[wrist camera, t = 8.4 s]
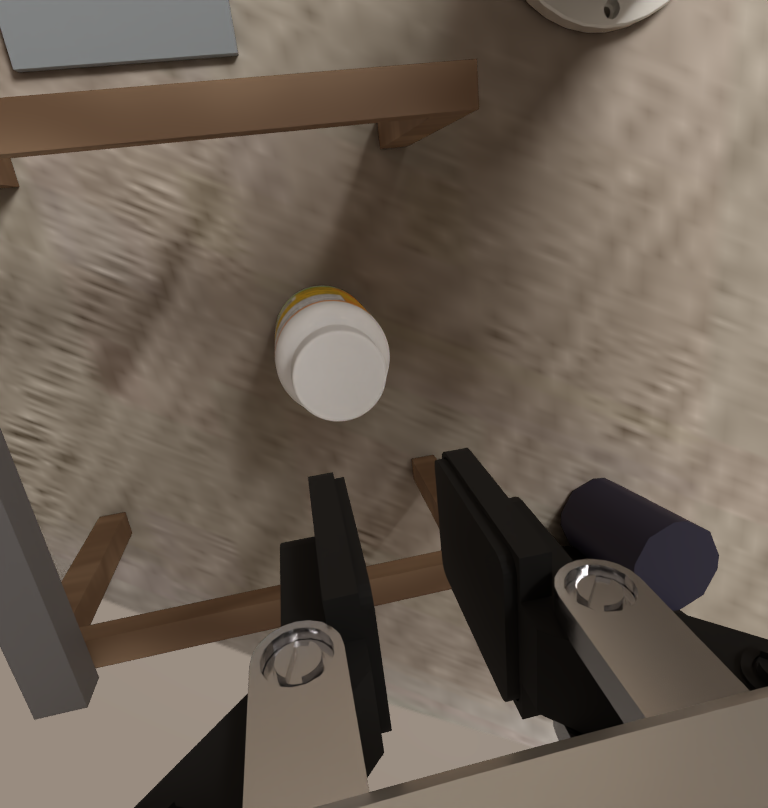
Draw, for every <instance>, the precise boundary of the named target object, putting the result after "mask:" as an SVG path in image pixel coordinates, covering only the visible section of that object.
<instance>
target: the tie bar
mask: <svg viewBox="0 0 768 808" xmlns="http://www.w3.org/2000/svg"><path fill="white" fill-rule="evenodd" d="M0 647H1V649H2V651H3V654H4V656H5V658H6V660H7V662H8V664H9V666H10V669H11V671H12V673H13V675H14V677H15V679H16V681H17V683H18V686H19V688H20V690H21V692H22V694H23V696H24V698H25V701H26V702H27V705H28V707H29V709H30V711H31V713H32V715H33V718H34V719H39V718H43V717H48V716H52V715H56V714H60V713H65V712H69V711H73V710H78V709H82V708H87V707H88V704H89V702H90V699H91V697H92V694H93V692H94V689H95V686H96V684H97V681H98V679H99V677H98V674H97V671H96V669H95V666H94V664H93V661H92V659H91V656H90V653H89V651H88V648H87V646H86V643H85V641H84V638H83V636H82V633H81V631H80V628H79V626H78V623H77V621H76V618H75V616H74V613H73V611H72V608H71V606H70V603H69V600H68V598H67V595H66V593H65V590H64V588H63V585H62V583H61V580H60V578H59V575H58V573H57V570H56V568H55V565H54V563H53V560H52V558H51V555H50V552H49V550H48V547H47V545H46V542H45V540H44V537H43V535H42V532H41V530H40V527H39V525H38V522H37V520H36V517H35V515H34V512H33V510H32V507H31V504H30V502H29V499H28V497H27V494H26V492H25V489H24V487H23V484H22V482H21V479H20V477H19V474H18V472H17V469H16V467H15V464H14V462H13V459H12V456H11V454H10V451H9V449H8V446H7V444H6V441H5V439H4V436H3V434H2V431H1V429H0Z"/></svg>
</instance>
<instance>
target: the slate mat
mask: <svg viewBox="0 0 768 808" xmlns="http://www.w3.org/2000/svg"><path fill="white" fill-rule="evenodd" d="M0 28H1V31H2V34H3V38H4V41H5V44H6V47H7V51H8V54H9V57H10V60H11V64H12V67H13V70H15V71H17V72H29V71H42V70H55V69H68V68H82V67H95V66H108V65H121V64H134V63H147V62H160V61H174V60H187V59H200V58H213V57H226V56H238V50H237V45H236V39H235V33H234V28H233V22H232V16H231V11H230V5H229V0H0Z"/></svg>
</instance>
